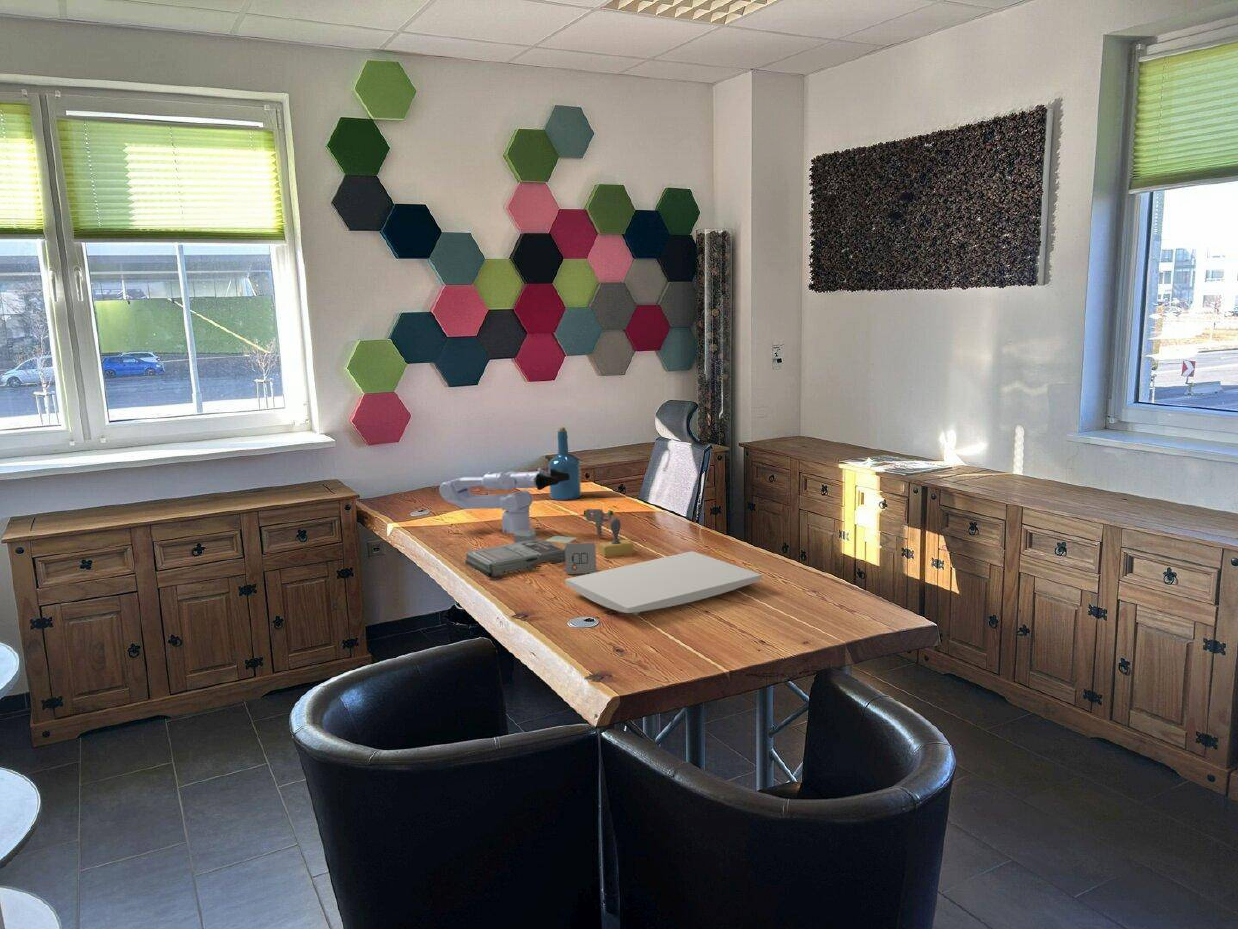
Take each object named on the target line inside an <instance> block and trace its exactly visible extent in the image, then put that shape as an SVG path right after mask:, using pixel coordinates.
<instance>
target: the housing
mask: <svg viewBox="0 0 1238 929" xmlns="http://www.w3.org/2000/svg"><path fill="white" fill-rule="evenodd" d="M513 537H514V543H517V542H523V541H528V540H534V539H537V534H536V528H534V529H533V528H530V529H525V528H519V529H517V530H515V531H514V534H513Z"/></svg>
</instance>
